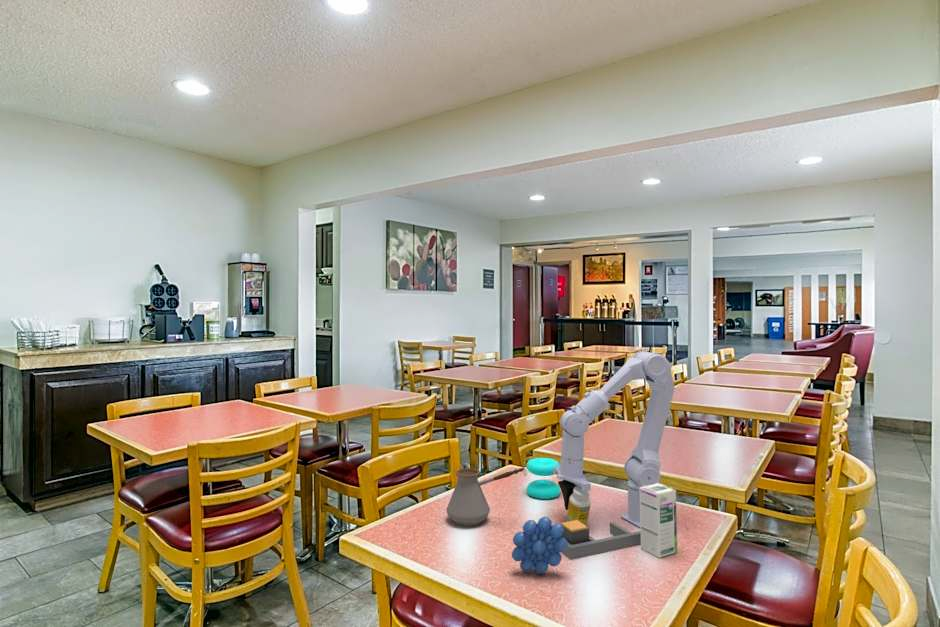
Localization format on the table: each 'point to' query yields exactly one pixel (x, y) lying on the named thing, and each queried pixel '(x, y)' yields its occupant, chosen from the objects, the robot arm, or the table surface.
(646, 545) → the syrup box
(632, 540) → the grey tray with block
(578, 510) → the supplement bottle
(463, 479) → the coffee pot
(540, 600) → the table surface
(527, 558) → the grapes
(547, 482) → the donuts
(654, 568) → the table surface
